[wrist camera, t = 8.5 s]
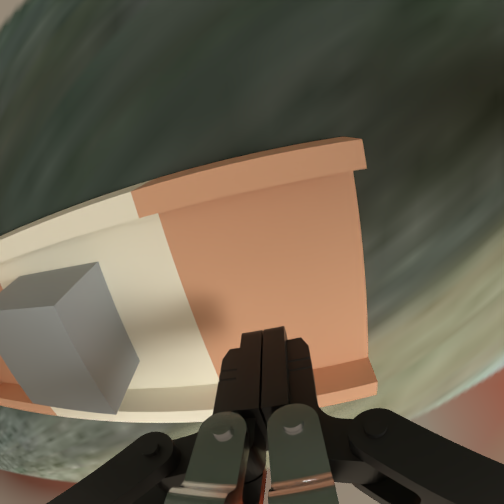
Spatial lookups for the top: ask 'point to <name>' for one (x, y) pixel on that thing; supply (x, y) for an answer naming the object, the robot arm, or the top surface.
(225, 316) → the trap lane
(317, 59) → the top surface
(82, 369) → the slate block
